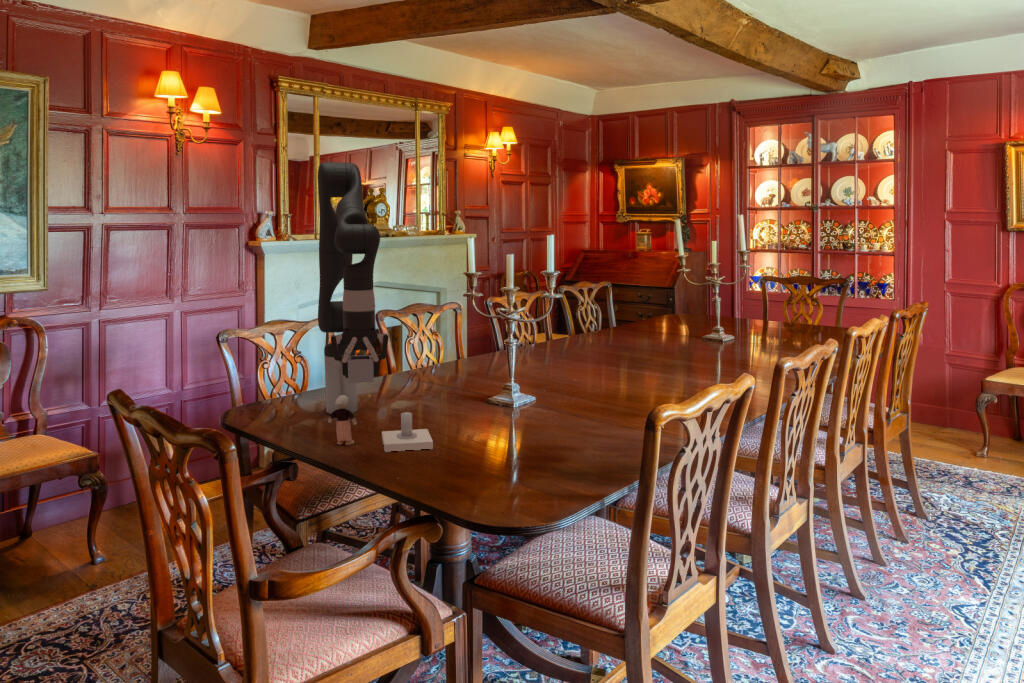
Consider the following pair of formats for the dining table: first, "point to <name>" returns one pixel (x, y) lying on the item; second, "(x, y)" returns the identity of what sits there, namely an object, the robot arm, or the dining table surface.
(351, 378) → the collar
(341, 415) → the grandmother figurine
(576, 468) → the dining table surface
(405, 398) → the dining table surface
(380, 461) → the dining table surface
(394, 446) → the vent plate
